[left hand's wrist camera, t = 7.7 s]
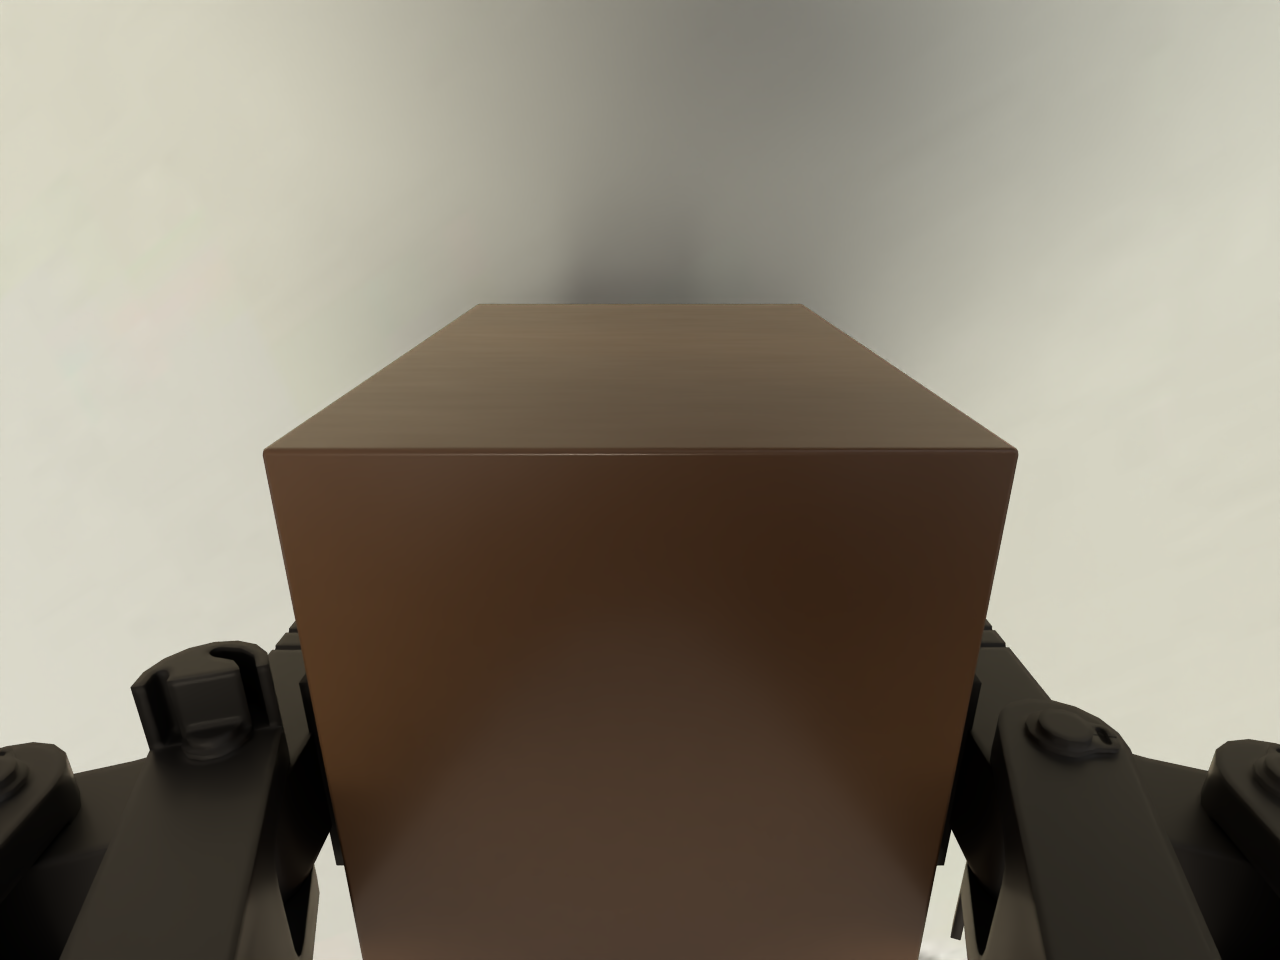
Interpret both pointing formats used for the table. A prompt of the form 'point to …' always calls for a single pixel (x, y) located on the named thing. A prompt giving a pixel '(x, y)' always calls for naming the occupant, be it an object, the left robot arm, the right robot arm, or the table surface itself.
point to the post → (640, 633)
